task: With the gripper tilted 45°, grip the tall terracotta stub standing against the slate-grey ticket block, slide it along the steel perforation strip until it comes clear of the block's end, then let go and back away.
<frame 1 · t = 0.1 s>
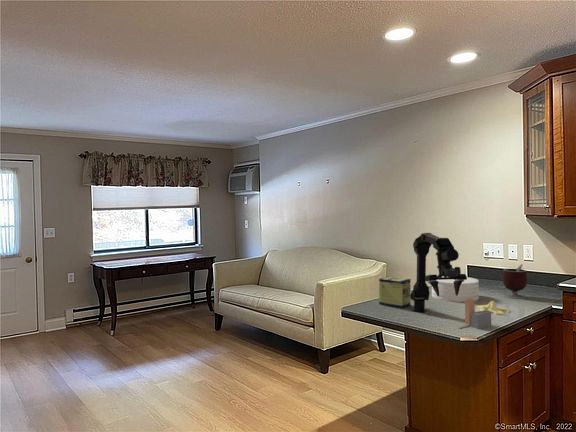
hand: (447, 295, 210), 15 cm above the countertop, tool pointing down, fingers open, 9 cm apart
protein box: (394, 305, 260), on the countertop
cloth: (490, 312, 242), on the countertop
stub: (469, 311, 216), point 6 cm above the countertop, slide at 0.0 cm
plate stack: (454, 297, 280), on the countertop
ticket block: (469, 323, 216), on the countertop
mate gourd: (515, 296, 279), on the countertop
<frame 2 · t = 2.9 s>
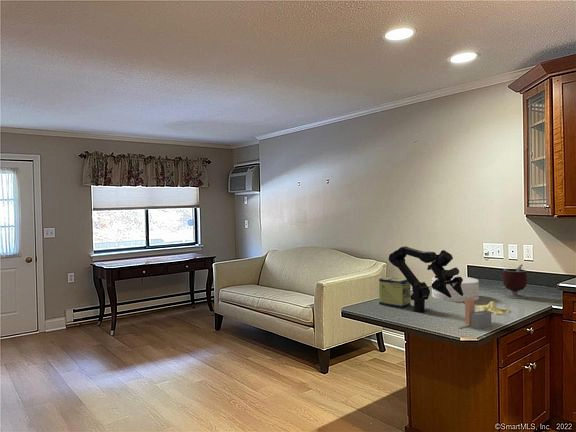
hand: (456, 296, 223), 12 cm above the countertop, tool tilted 45°, fingers open, 9 cm apart
nothing on the countertop moved.
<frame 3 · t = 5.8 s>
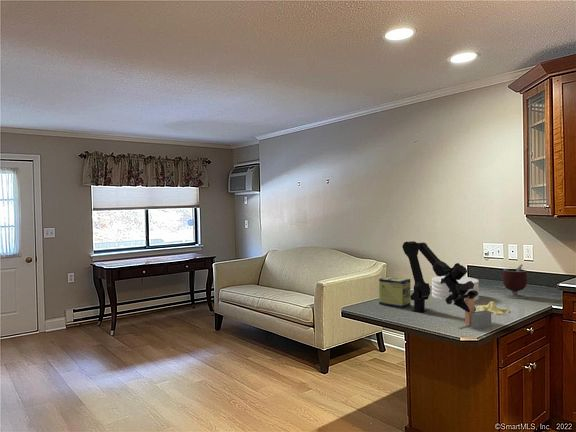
hand: (472, 311, 215), 7 cm above the countertop, tool tilted 45°, fingers closed on stub, 4 cm apart
stub: (469, 311, 216), point 6 cm above the countertop, slide at 0.0 cm, touching gripper
everything else where it was.
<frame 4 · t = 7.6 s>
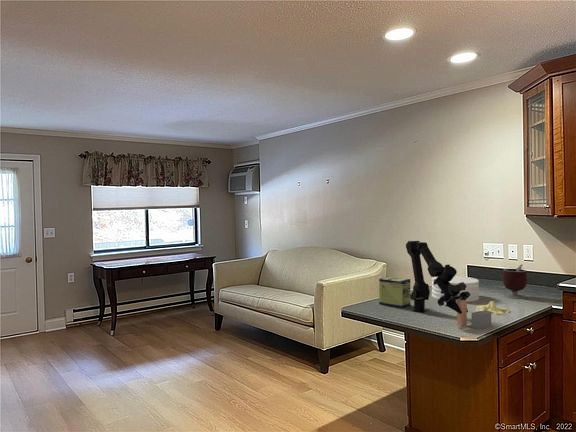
hand: (464, 312, 212), 7 cm above the countertop, tool tilted 45°, fingers closed on stub, 4 cm apart
stub: (461, 312, 213), point 6 cm above the countertop, slide at 5.9 cm, touching gripper
everything else where it was.
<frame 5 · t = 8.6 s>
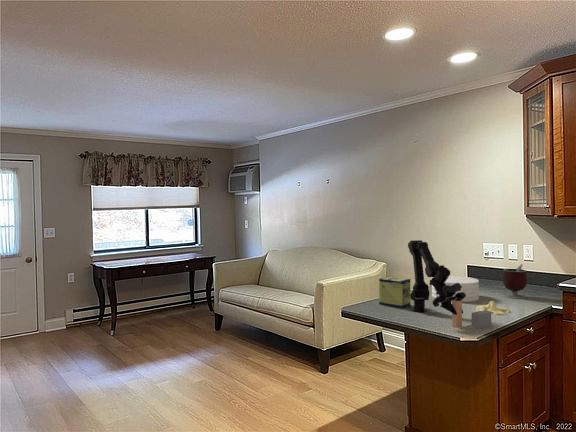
hand: (459, 313, 210), 7 cm above the countertop, tool tilted 45°, fingers closed on stub, 4 cm apart
stub: (457, 313, 212), point 6 cm above the countertop, slide at 9.4 cm, touching gripper
everything else where it was.
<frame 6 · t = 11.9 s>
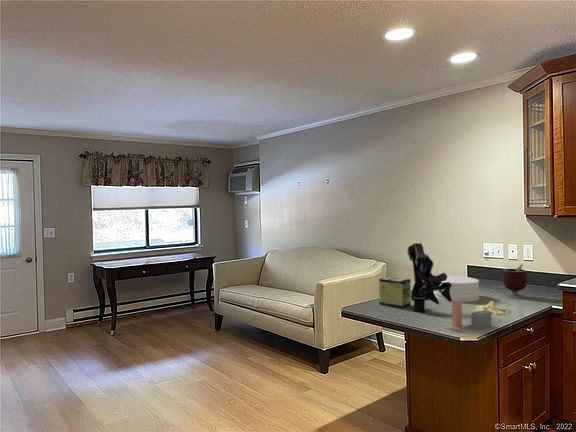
hand: (445, 302, 218), 10 cm above the countertop, tool tilted 45°, fingers open, 9 cm apart
stub: (457, 313, 212), point 6 cm above the countertop, slide at 9.4 cm
everything else where it was.
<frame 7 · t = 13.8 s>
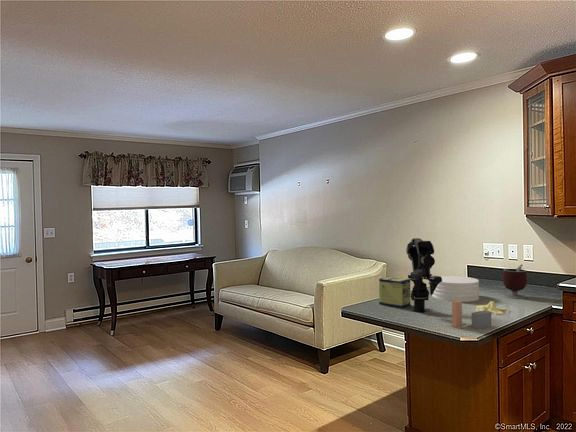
hand: (424, 293, 232), 12 cm above the countertop, tool pointing down, fingers open, 9 cm apart
nothing on the countertop moved.
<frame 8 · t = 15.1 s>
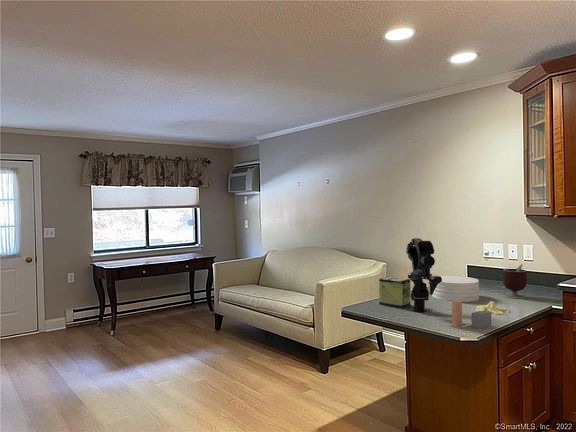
hand: (424, 293, 232), 12 cm above the countertop, tool pointing down, fingers open, 9 cm apart
nothing on the countertop moved.
at the end: stub slide at 9.4 cm; the gripper is holding nothing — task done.
